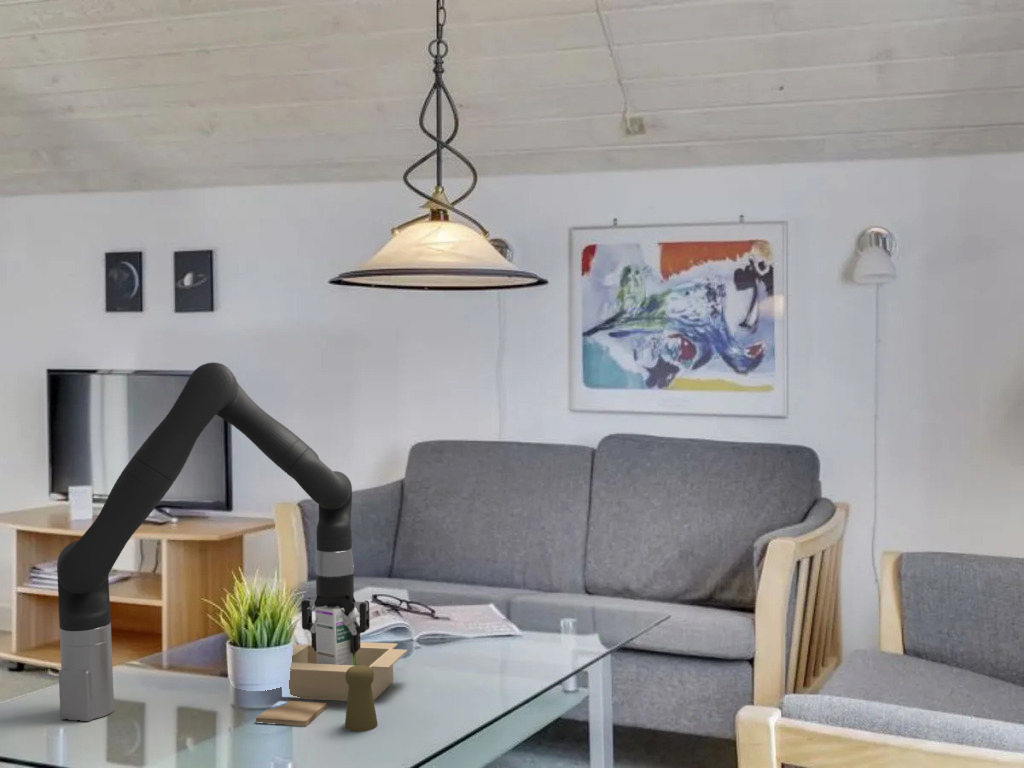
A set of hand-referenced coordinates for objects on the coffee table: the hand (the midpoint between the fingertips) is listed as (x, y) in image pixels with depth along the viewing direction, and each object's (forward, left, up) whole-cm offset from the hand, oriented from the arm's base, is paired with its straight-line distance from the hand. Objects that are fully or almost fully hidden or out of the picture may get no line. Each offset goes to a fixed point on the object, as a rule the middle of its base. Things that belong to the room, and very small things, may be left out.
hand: (336, 651), depth 223 cm
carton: (0, 0, -8) cm, 8 cm away
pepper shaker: (-19, -12, -8) cm, 24 cm away
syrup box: (0, 0, -5) cm, 5 cm away
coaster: (-16, +3, -8) cm, 18 cm away
